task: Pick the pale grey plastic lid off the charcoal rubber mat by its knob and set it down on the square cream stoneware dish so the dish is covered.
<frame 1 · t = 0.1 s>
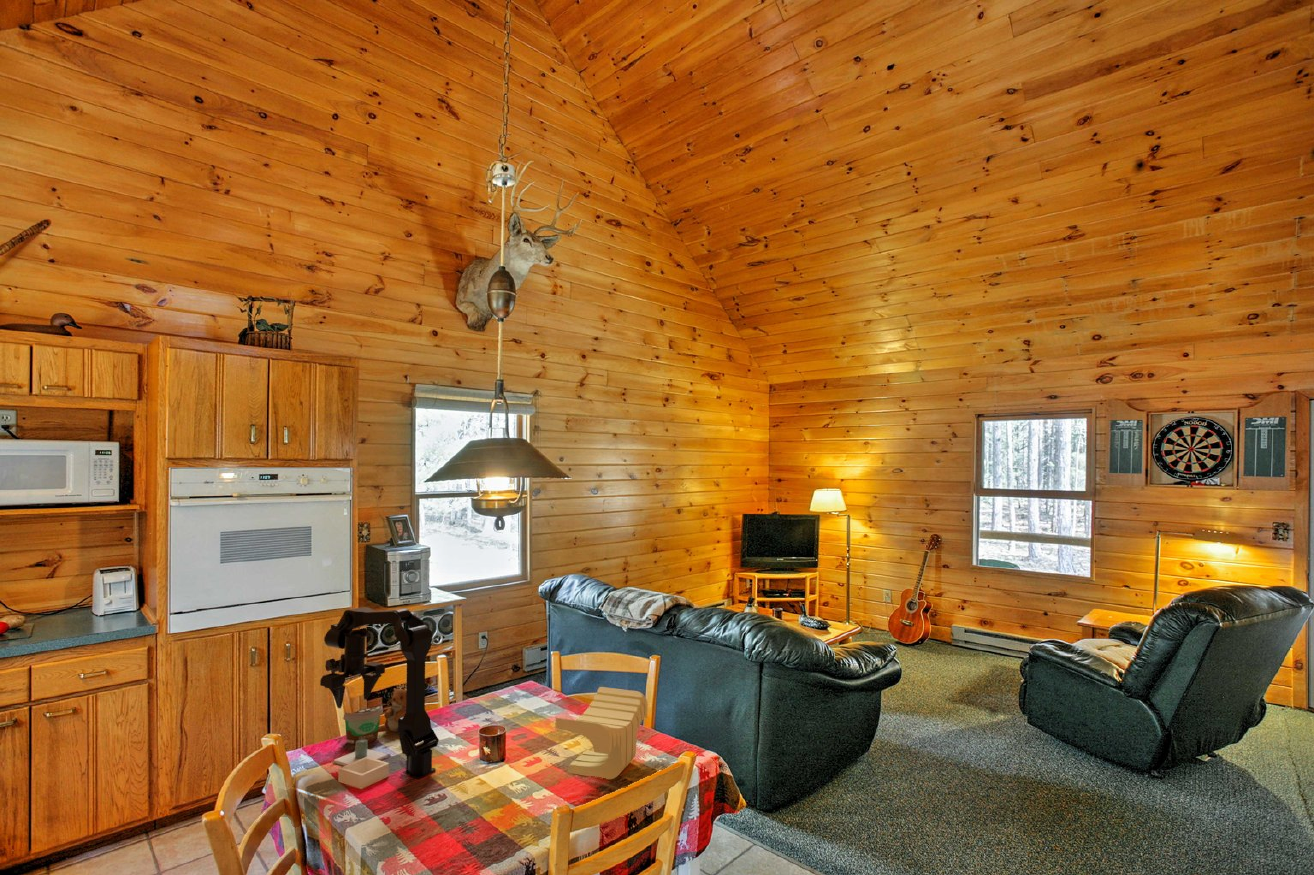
hand: (352, 703, 204), 14 cm above the table, fingers open, 9 cm apart
dish: (363, 780, 185), on the table
mat: (360, 762, 197), on the table
lid: (360, 759, 197), point 1 cm above the table, touching mat
food container: (366, 742, 212), on the table
stuffed squirrel: (401, 728, 225), on the table
slatted curved stool: (603, 768, 196), on the table
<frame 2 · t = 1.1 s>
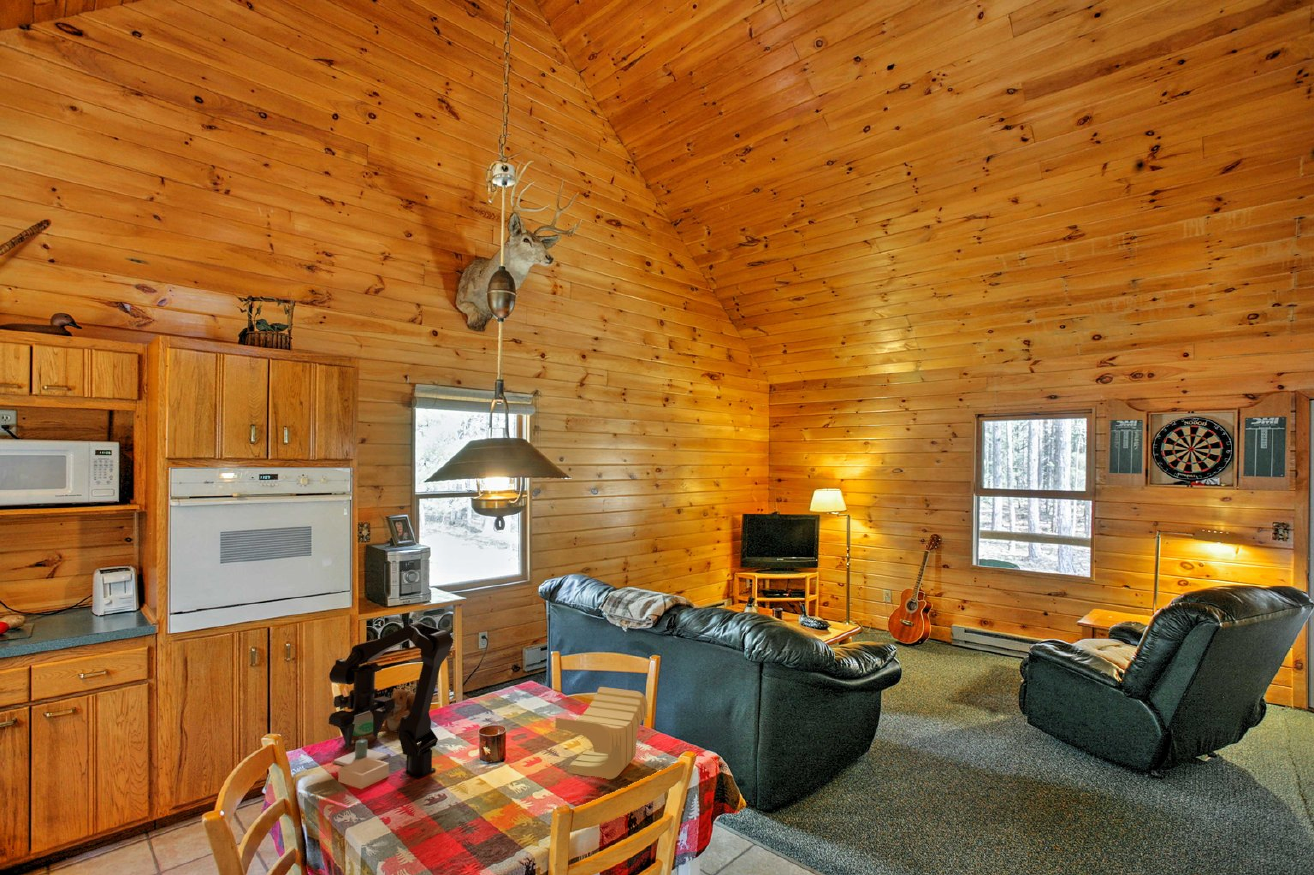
hand: (362, 741, 198), 6 cm above the table, fingers open, 9 cm apart
nothing on the table moved.
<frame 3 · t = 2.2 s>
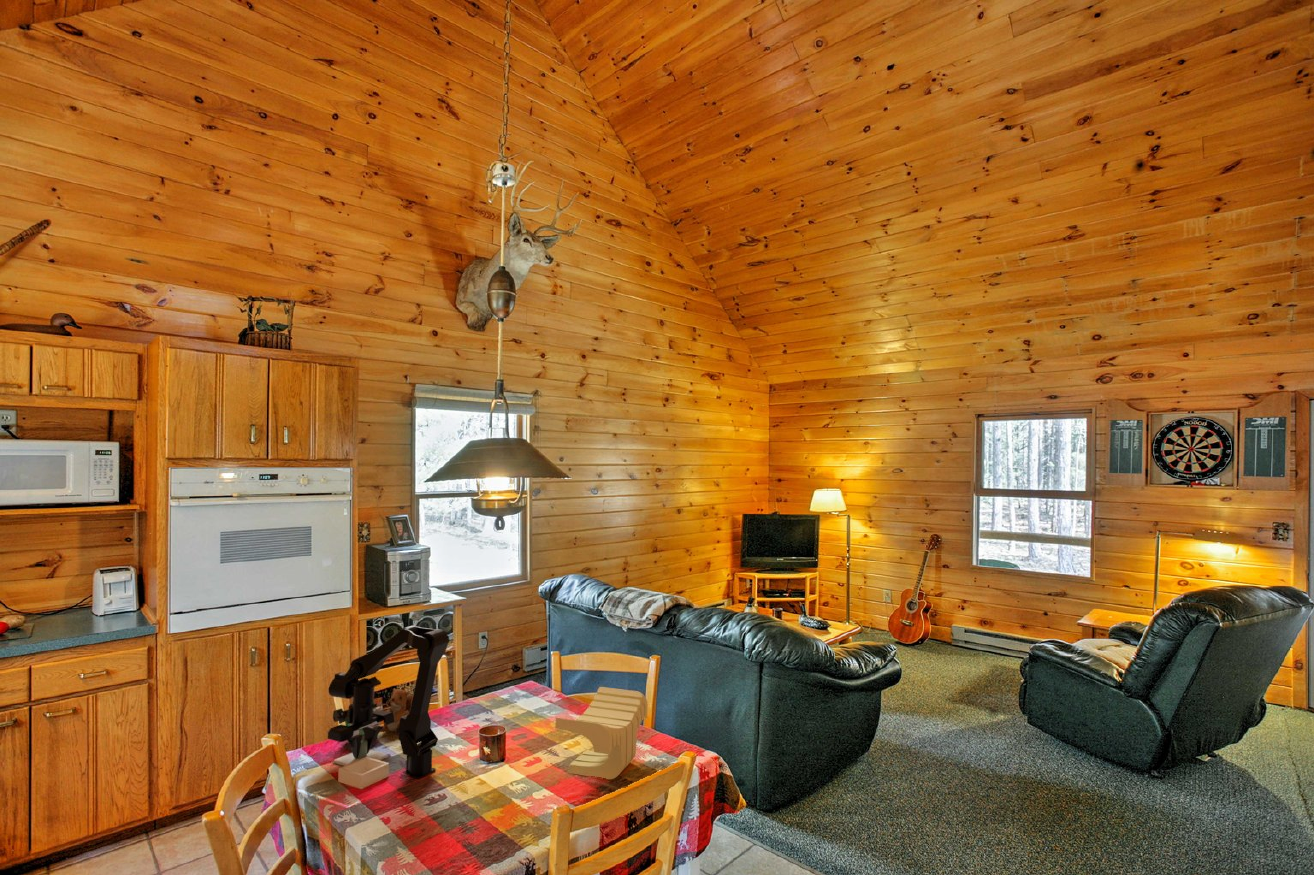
hand: (361, 755, 197), 2 cm above the table, fingers closed on lid, 3 cm apart
lid: (360, 759, 197), point 1 cm above the table, touching gripper, mat
everything else where it was.
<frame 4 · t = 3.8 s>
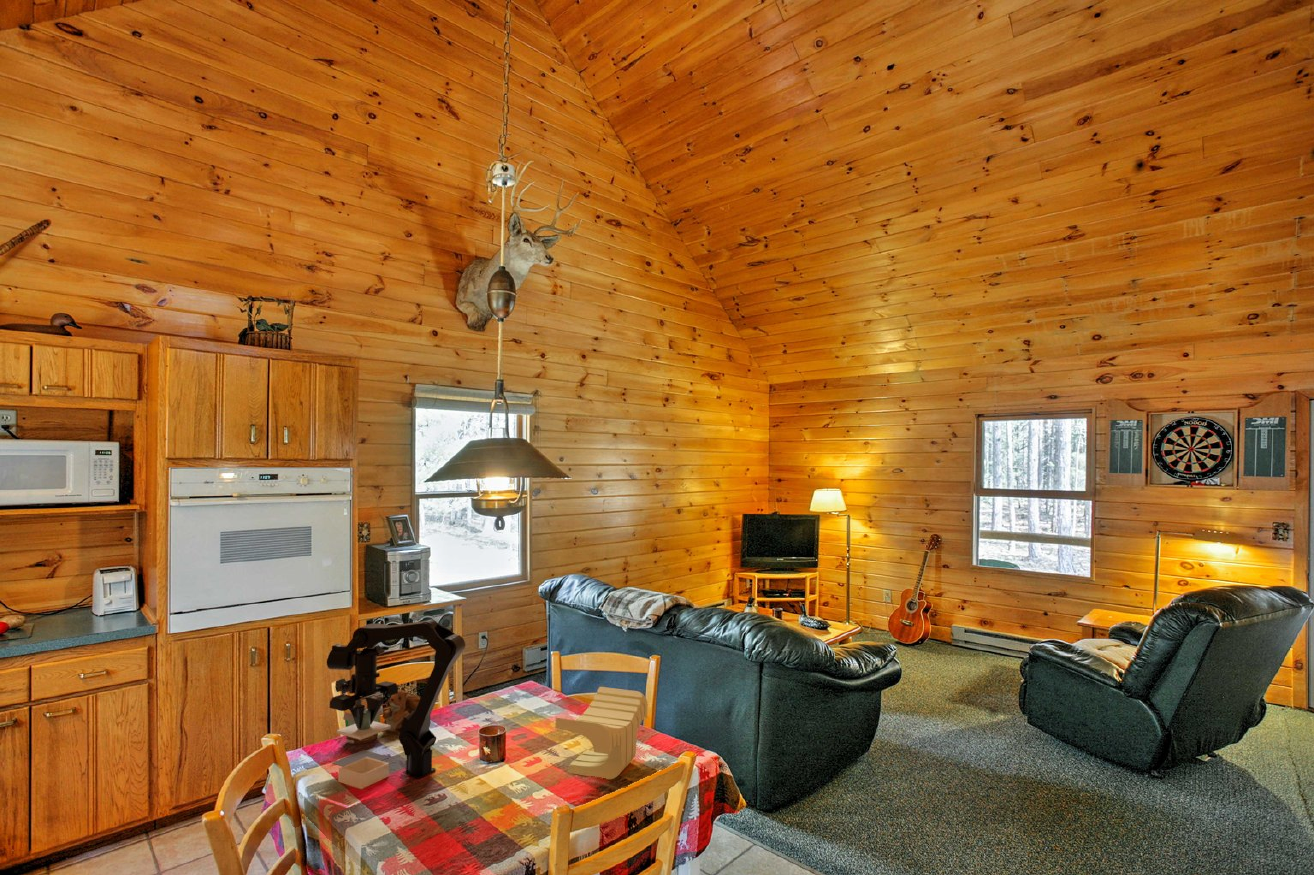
hand: (364, 726, 193), 12 cm above the table, fingers closed on lid, 3 cm apart
lid: (364, 730, 193), point 11 cm above the table, touching gripper
everything else where it was.
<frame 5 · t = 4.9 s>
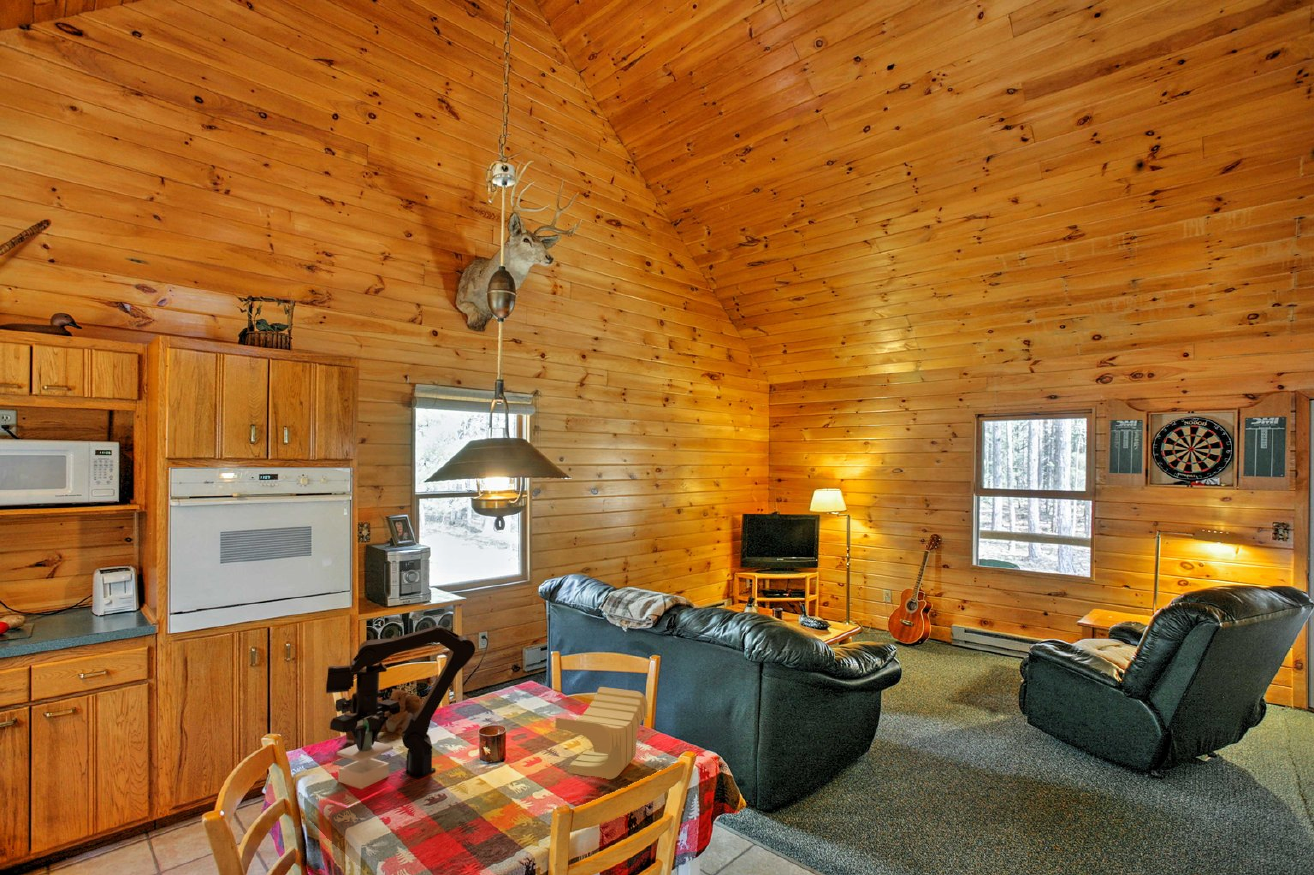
hand: (365, 747, 186), 9 cm above the table, fingers closed on lid, 3 cm apart
lid: (365, 751, 186), point 8 cm above the table, touching gripper
everything else where it was.
when the fingers open (6 cm above the table, at t = 5.5 s): lid drops 1 cm, resting on dish.
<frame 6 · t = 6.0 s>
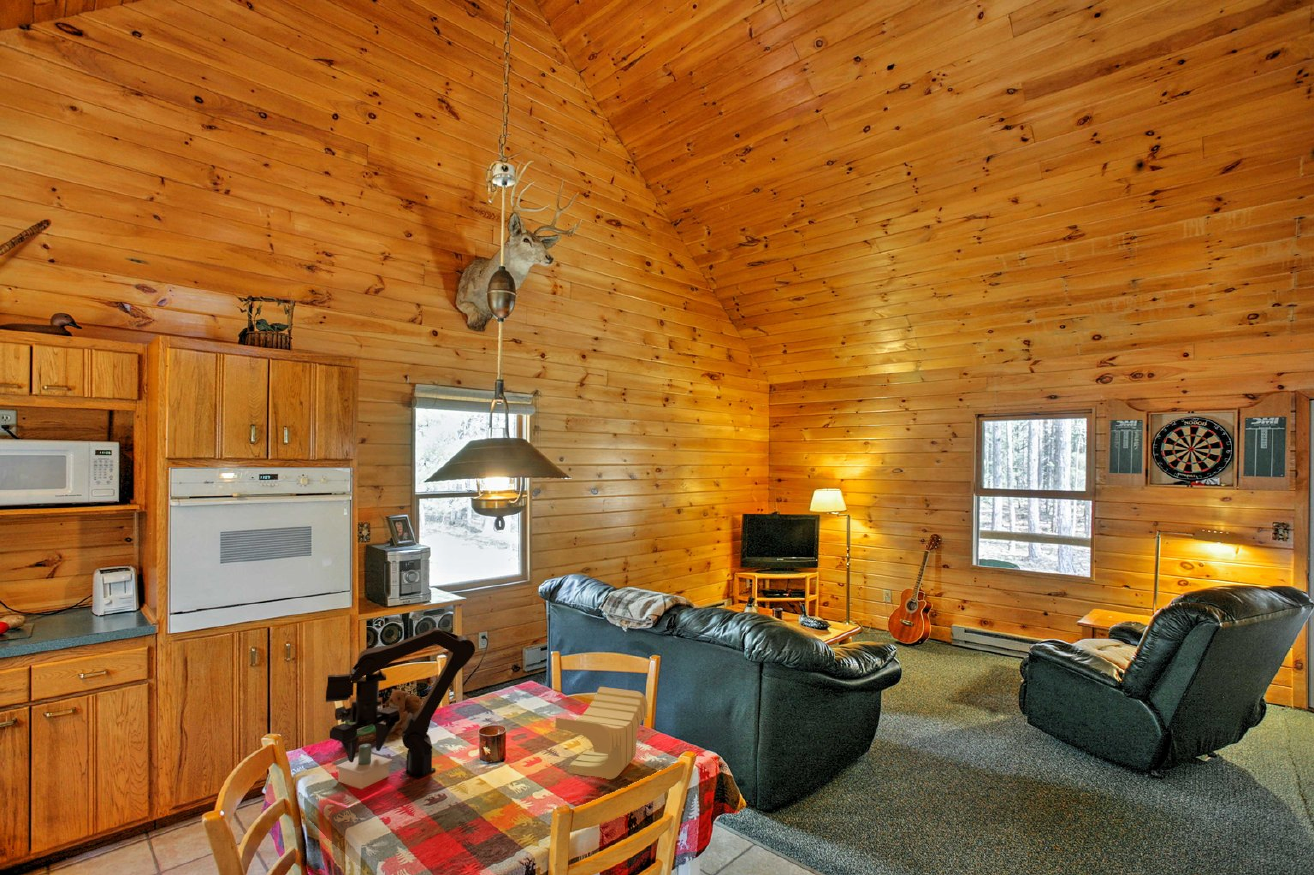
hand: (364, 756, 186), 6 cm above the table, fingers open, 8 cm apart
lid: (364, 765, 185), point 4 cm above the table, touching dish
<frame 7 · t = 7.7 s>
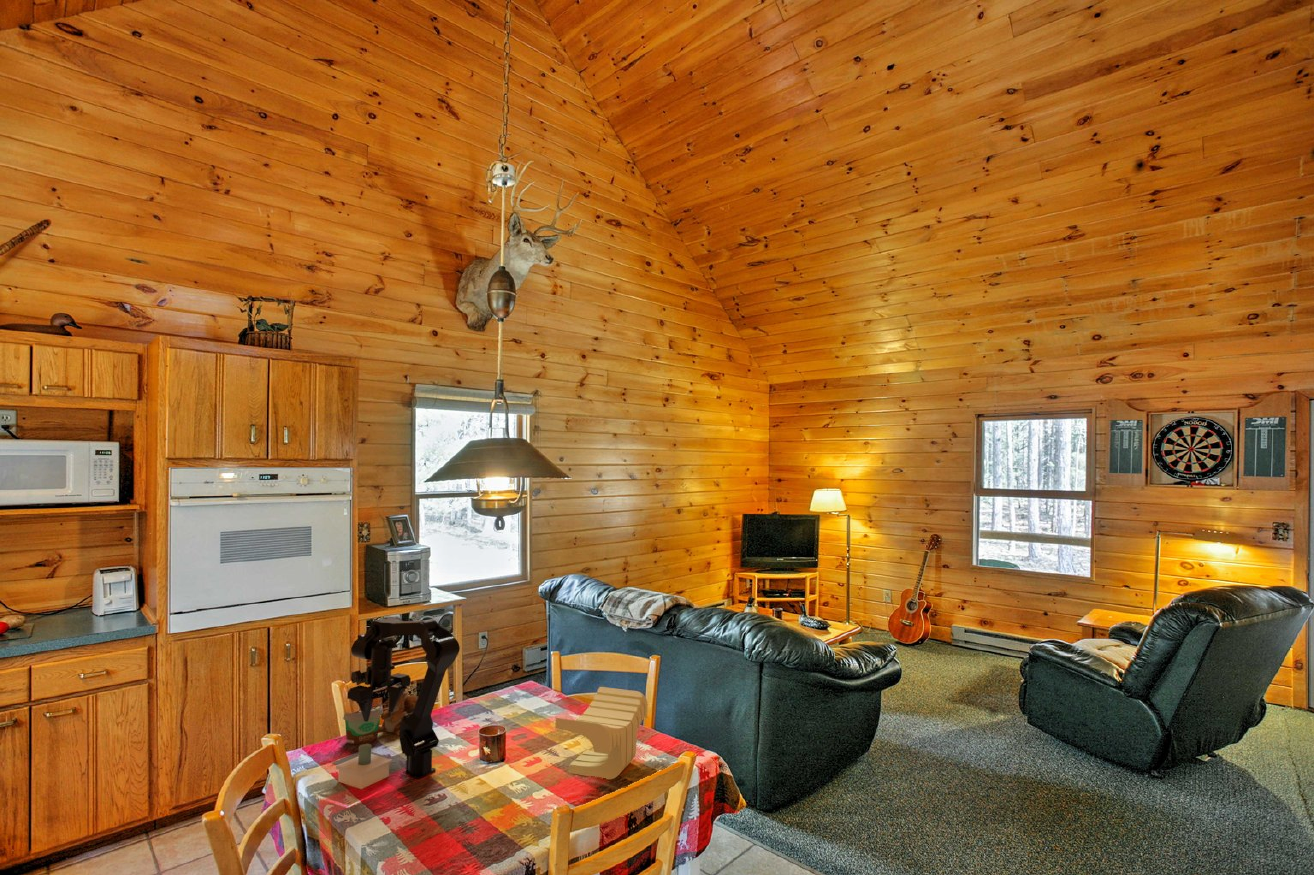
hand: (378, 716, 200), 12 cm above the table, fingers open, 9 cm apart
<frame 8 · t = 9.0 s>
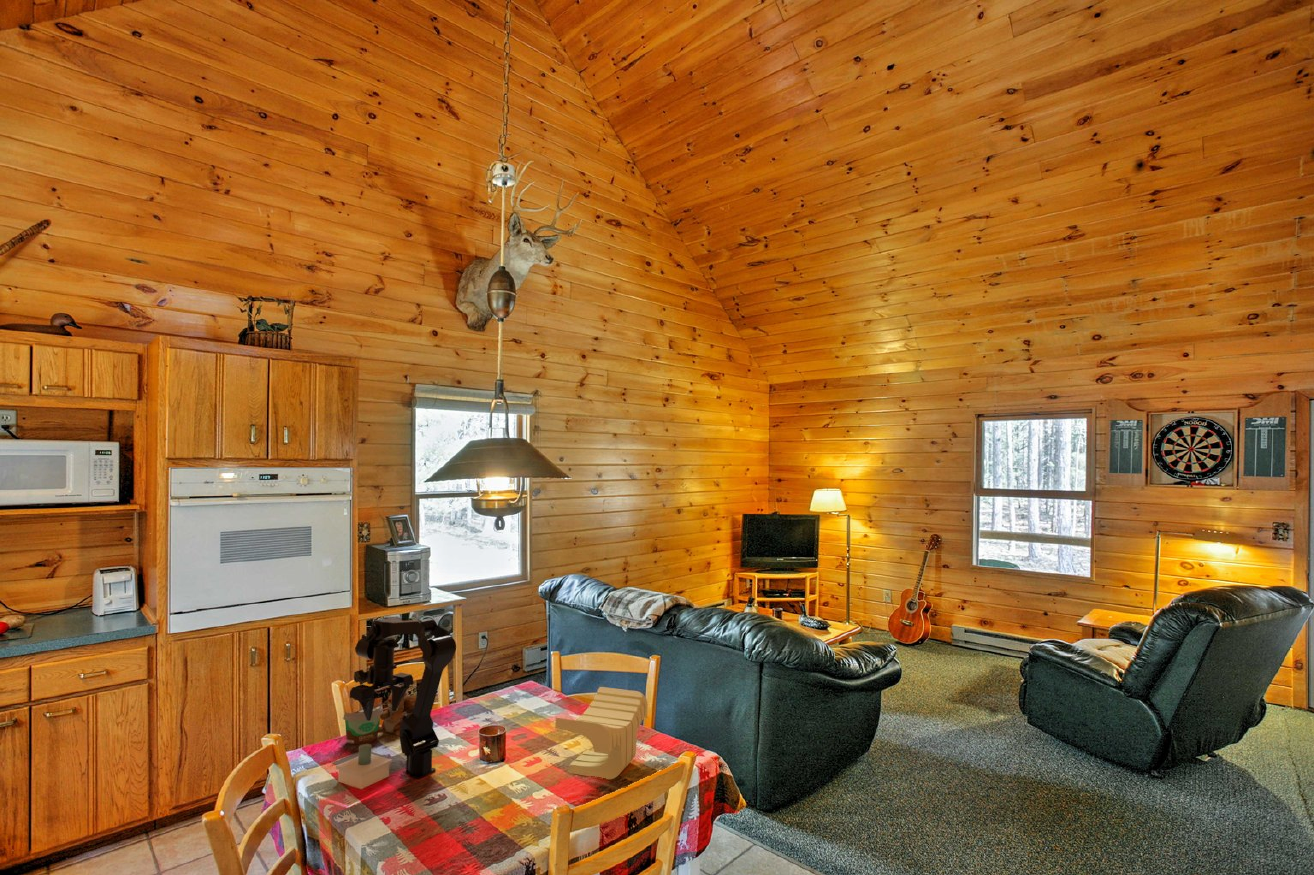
hand: (381, 715, 202), 12 cm above the table, fingers open, 9 cm apart
at the end: lid 0.0 cm off-centre on the dish, point 4.0 cm above the dish's base; lid tilted 0°; the gripper is holding nothing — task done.
